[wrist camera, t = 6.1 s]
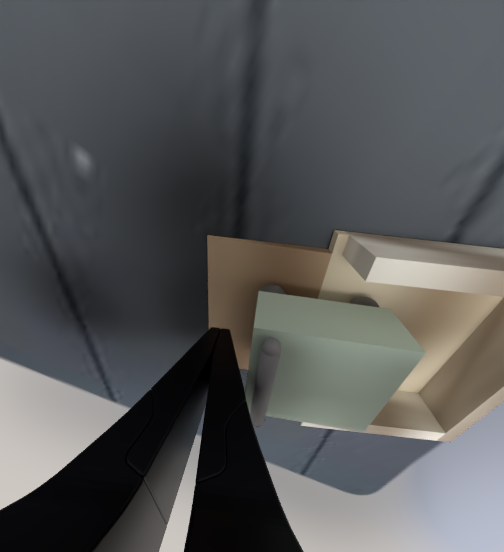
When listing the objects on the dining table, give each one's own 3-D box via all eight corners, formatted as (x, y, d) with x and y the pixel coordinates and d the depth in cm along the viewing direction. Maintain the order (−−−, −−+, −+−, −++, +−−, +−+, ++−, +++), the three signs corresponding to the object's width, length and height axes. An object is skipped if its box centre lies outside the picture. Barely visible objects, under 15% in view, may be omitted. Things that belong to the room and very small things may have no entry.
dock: (211, 363, 13) (197, 413, 10) (209, 213, 8) (184, 235, 5) (412, 385, 13) (449, 442, 10) (528, 248, 8) (654, 288, 5)
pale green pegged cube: (250, 351, 11) (240, 428, 8) (260, 276, 9) (251, 343, 5) (341, 365, 11) (369, 450, 7) (377, 292, 8) (441, 372, 5)
